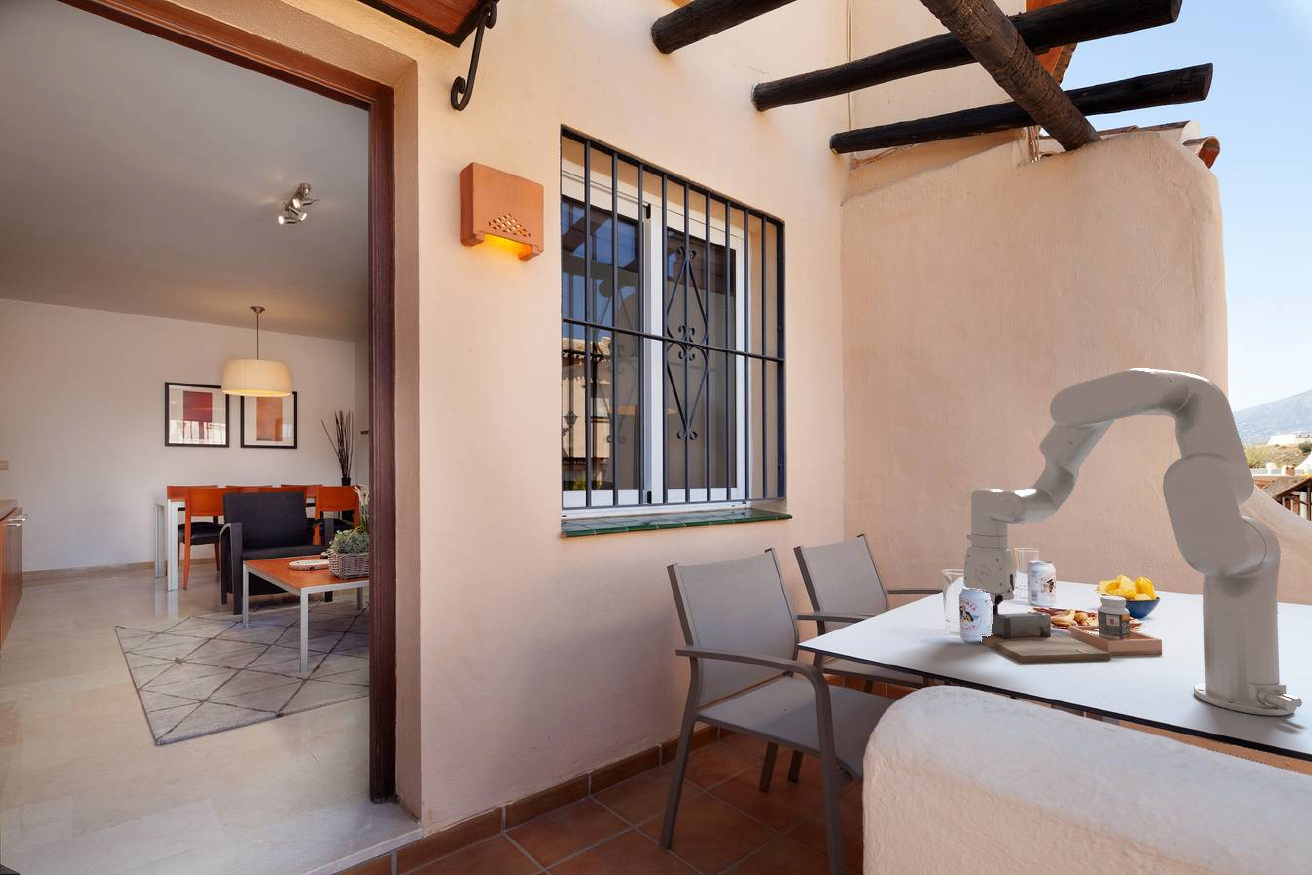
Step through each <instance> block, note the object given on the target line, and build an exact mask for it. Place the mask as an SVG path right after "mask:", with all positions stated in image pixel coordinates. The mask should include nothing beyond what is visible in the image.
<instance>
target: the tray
mask: <svg viewBox="0 0 1312 875" xmlns="http://www.w3.org/2000/svg"><path fill="white" fill-rule="evenodd" d="M1091 629H1098V625H1070V626H1067V630H1068V631H1070V632H1072V633H1071V634H1068V633H1067V636H1068V637H1071V638H1073V639H1076V640H1078V641H1081V642H1084V643H1086V644H1089V645H1091V646H1094V647H1096V648H1099V649H1101V650H1104V651H1106V652H1109V653H1110V657H1111V656H1112V657H1113V656H1114V657H1115V656H1140V655H1141V656H1143V655H1147V656H1148V655H1163V640H1162V639H1161V638H1158V637H1155V636H1151V635H1148V634H1146V633H1143V632H1140V631H1138V630H1134V629H1131V628H1130V639H1120V640H1108V639H1105V638H1103V637H1100V636H1097V635H1095V634H1092V633H1089V632H1087V631H1084V630H1091ZM1068 631H1067V632H1068Z"/></svg>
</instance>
